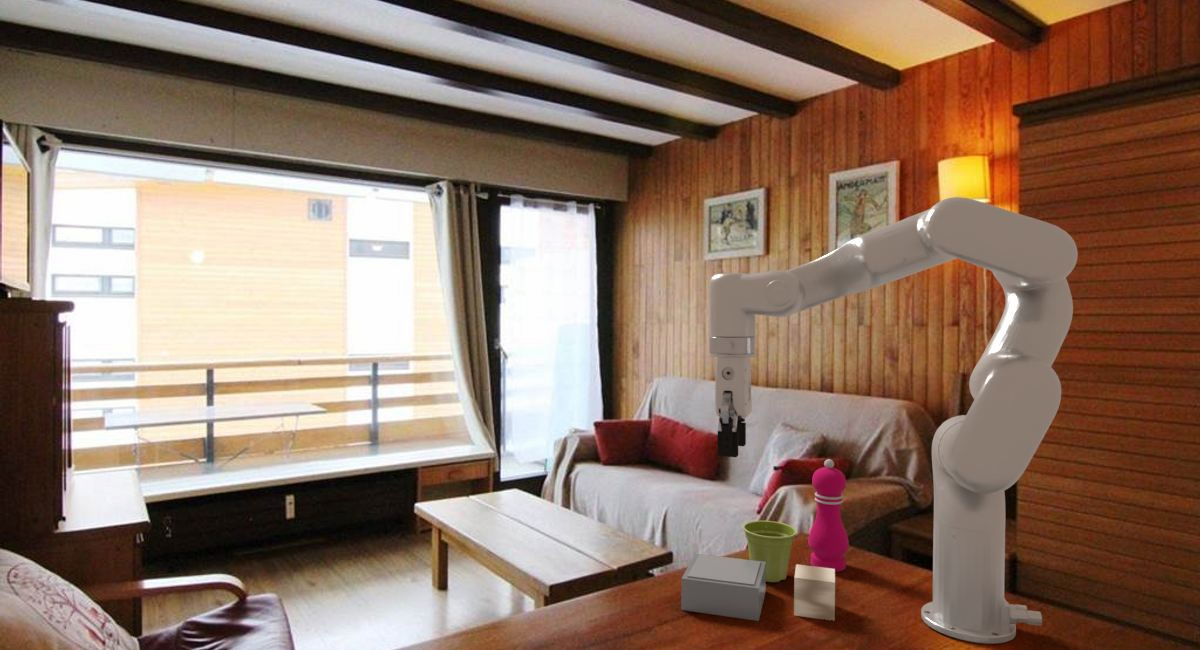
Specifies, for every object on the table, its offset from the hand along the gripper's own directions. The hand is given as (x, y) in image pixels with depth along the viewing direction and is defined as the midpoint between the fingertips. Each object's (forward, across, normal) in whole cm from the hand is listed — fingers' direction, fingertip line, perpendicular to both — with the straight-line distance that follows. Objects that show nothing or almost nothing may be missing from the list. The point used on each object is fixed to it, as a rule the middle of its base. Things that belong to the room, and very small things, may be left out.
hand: (732, 450), depth 113 cm
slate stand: (+24, -2, +1) cm, 24 cm away
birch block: (+24, -1, -13) cm, 28 cm away
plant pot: (+24, +11, -5) cm, 27 cm away
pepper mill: (+25, +20, -15) cm, 35 cm away
